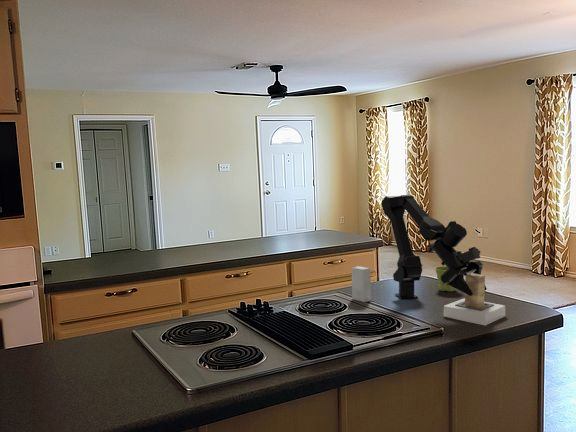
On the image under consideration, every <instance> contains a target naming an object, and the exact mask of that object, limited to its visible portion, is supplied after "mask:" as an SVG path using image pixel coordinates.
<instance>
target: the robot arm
mask: <svg viewBox="0 0 576 432" xmlns="http://www.w3.org/2000/svg"><path fill="white" fill-rule="evenodd" d="M380 205H381V208H382V210H383V214H384V215H385V217H387V219H388V220H389V221H390V225H391V228H392V232H393V236H394V239H395V243H396V247H397V251H398V256H399V257H398V260H397V263H396V266H397V269H396V270H395V272H394V273H393V274H392V277H393V281H395V282H398V293H395V294H394V295H395V296H396V297H398V298H399V299H402V300H406V299H407V300H409V299H418V298H419V295H418V296H417V295H416V294H415V282H416V281H418V282H419V281H420V280H421V276H422V273H423V268H422V267H423V263H422V262H421V257H420V255H416V254H414V253H413V248H412V245H411V241H410V237H409V233H408V230H407V227H406V223H405V219H404V215H405V212H407V213H408V214H409V216H410V217H411V218H412V220H413V221H414V222H415V223H416V224H417V225H418V229H419V230H418V231H419V234H420V235H421V237H422V238H423V239H424V241H426V242H431V241H434V242H433V243H431V244H428V253H429V254H430V253H433V252H434V253H435V254H436V255H437V257H438V258H439V259H440V260H441V263H440V264H441V265H442V266H447V268H448V270H446V271H445V272H444V273H443V274H442V275H441V281H442V282H443V283H444V284H447V283H448V284H447V285H450V286H452V287H454V288H455V290H458V291H460V292H462V293H464V294H465V293H466V294H467V295H469V296H472V295H473V293H472V291H471V289H470V288H469V286H468V285H467V283H466V282H465V276H466V275H468V274H472V273H473V274H480V275H482V270H483V266H484V264H483V263H482V262H481V260H477V259H480V258H481V250H480V249H479V248H477V247H476V246H473V247H469V248H468V250H467V251H465V252H462V251H459V250H458V251H457V250H456V249H455V247H457V246H458V245H459V244H460V243H461V241H463V240H464V239H465V237H466V236H467V235H468V233H467V232H468V231H467V229H466V228H465V227H464V226H462V225H461V224H459V223H457V221H455V220H453V221H449V222H448V224H447V226H446V227H445V225H444V224H443V223H442V222H440V221H439V220H438V219H435V218H433V217H431V215H429V214H428V213H427V212H426V211H425V209H424V208H423V207H422V206H421V205H420V204H419V203H418V202H417V201H416V199H415V197H414V195H412V194H403V195H402V194H401V195H392V196H391V195H390V196H388V195H387V196H384V197H383V199H382V200H381V204H380ZM449 281H450V282H449ZM485 291H487V286H486V285H485Z"/></svg>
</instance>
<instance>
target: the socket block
mask: <svg viewBox="0 0 576 432" xmlns="http://www.w3.org/2000/svg"><path fill="white" fill-rule="evenodd" d="M443 317H445V318H449V319H454V320H458V321H463V322H467V323H471V324H477V325H481V326H488V325H489V324H492V323H494V322H495V321H498V320H500V319H503V318H505V317H506V305H504V304H497V303H493V302H489V301H488V302H487V301H484V307H481V308H475V307H470V306H465V297H464V298H461V299H458V300H456V301H454V302H451V303H447V304H445V305H443Z"/></svg>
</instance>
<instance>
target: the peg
mask: <svg viewBox="0 0 576 432" xmlns="http://www.w3.org/2000/svg"><path fill="white" fill-rule="evenodd" d="M464 280H465V282H466V283H467V285H468V286H469V288H470V289H471V291H472V293H473V295H472V296H469V295H467V294H466V293H464V298H465V306H470V307H475V308H481V307H484V302H485V297H486V296H485V295H486V294H485V291H486V290H485V286H486V276H485V274H481V275H480V274H473V273H472V274H468V275H466V276H464Z"/></svg>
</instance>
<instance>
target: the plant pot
mask: <svg viewBox="0 0 576 432" xmlns="http://www.w3.org/2000/svg"><path fill="white" fill-rule="evenodd" d="M434 270H435V273H436V275H437V276H436V277H437V284H438V290H439V291H442V292H446V291H447V292H455V290H456V288H454V287H452V286H450V285H447V284H448V283H447V284H444V283H443V282H442V281H441V275H442V274H443V273H444V272H445V271H446V270H448V268H447V266H446V265H442V266H435V267H434ZM449 282H450V281H449Z"/></svg>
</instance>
